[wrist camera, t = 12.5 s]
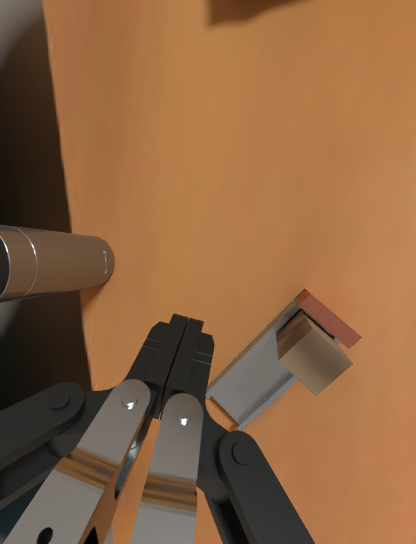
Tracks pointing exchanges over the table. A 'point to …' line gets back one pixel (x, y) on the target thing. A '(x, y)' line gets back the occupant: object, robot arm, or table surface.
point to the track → (270, 363)
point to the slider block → (310, 353)
